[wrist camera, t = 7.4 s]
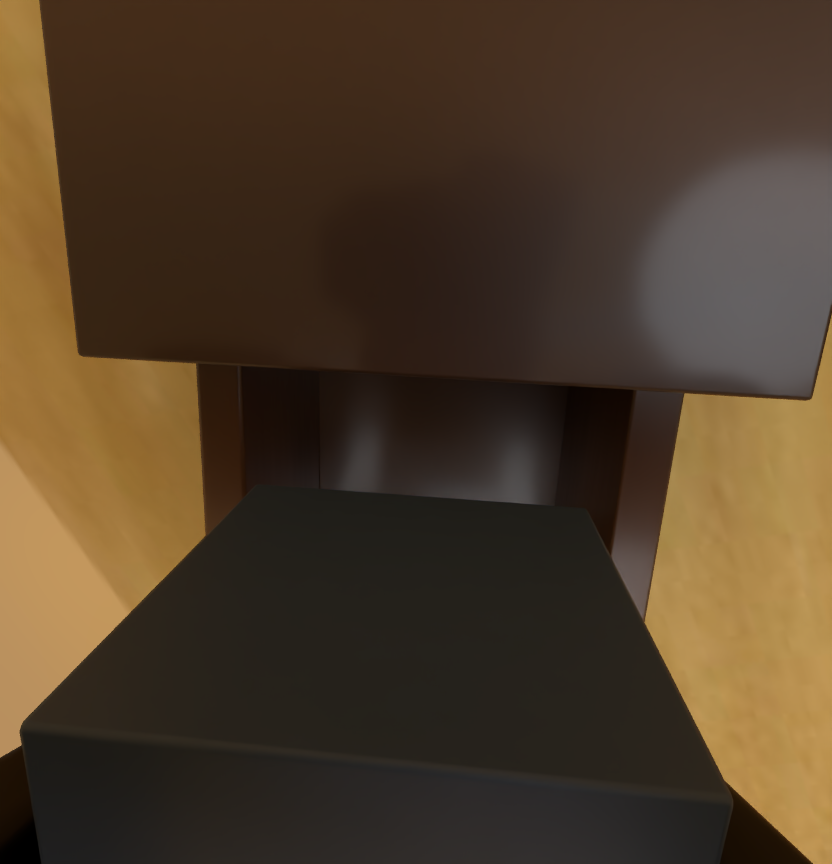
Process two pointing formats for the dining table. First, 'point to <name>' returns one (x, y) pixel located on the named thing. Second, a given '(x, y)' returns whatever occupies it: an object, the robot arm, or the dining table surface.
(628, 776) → the block
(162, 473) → the dining table surface
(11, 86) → the dining table surface
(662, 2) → the cabinet
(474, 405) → the drawer
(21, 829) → the robot arm
